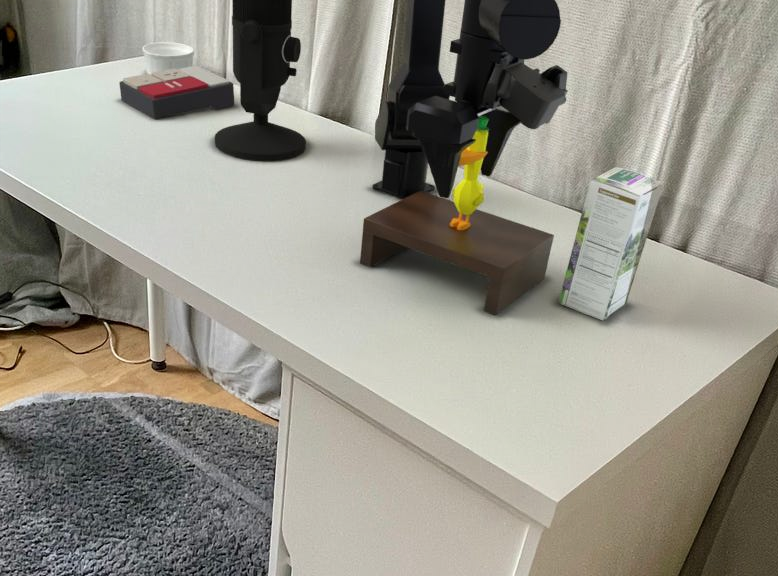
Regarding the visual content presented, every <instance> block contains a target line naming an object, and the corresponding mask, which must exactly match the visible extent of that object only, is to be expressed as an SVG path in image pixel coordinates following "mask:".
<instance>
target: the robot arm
mask: <svg viewBox="0 0 778 576" xmlns="http://www.w3.org/2000/svg"><path fill="white" fill-rule="evenodd" d="M445 9H446V0H407V4H406V15H405V28H404V29H405V30H404V42H403V54H402V64H401V66H400V68H399V69H398V71H397V72H396V73H395V75H394V76H393V78H392V80H391V81H390V82H389V84H388V86H387V93H386V94H387V95H386V101H384V102H383V104H382V106H381V107H380V111H379V113H378V115H377V117H376V120H375V122H374V140H375V142H376V143H377V145H378V146H379V148H380V150H381V151H384V160H383V167H382V177H381V180H380V181H377V182H375V183H373V184H372V186H371V187H372V189H373V190H375V191H378V192H380V193H383V194H387V195H390V196H393V197H396V198H398V199H400V200H402V199H405V198H407V197H409V196H411V195H413V194H415V193H417V192H419V191H423V192H426V193H429V194H430V192H433V191H435V188H436V191H437V193H438V197H441V198H444V199H449V198H451V195H452V194H451V193H452V192H453V187H454V184H455V180H456V177H457V174H458V173H457V172H458V169H459V166H458V165H459V161H460V158H461V154H462V152H463V151H464V150H465V149H466V148H468V147H469V146H470V145H472V144H473V143H474V142H475V141H476V139H472V138H473V136H474V134H475V133H476V131H477V129H478V123H479V116H483V117H487V118H489V121H488V123H487V126H486V127H487V128H489V130H488V138H487V144H486V150H485V151H487V152H488V153H487V154H486V155H485V157H484V159H483V162H482V166H481V169H480V173H481V175H482V176H485V177H491V176H492V175H493V173H494V170H495V168H496V166H497V163H498V162H499V160H500V157H501V156H502V153H503V151H504V149H505V147H506V145H507V143H508V140H509V139H510V136H511V135H512V133H513V131H514V129H515V128H516V127H517V126H519V125H522V126H524V127H526V128H528V129H530V130H537V129H539V128H540V126H543V125H547V124H549V123H551V121H552V119H553V117H554V116H555V114H556V112H557V110H558V108H559V107H560V106H562V105H564V104H565V103H566V102H567V97H566V95H567V94H568V91H569V90H568V89H567V82H568V71H566V70H565V69H564V68H562V67H561V66H559V65H558V64H556V65H553V66H550V67H548V68H547V69H546V70H544V71H542V72H541V73H540V71H541V70H540V69H539V68H538V67H536V68H534V69H533V68H532V67H529V66H528V65H526V64H525V60H531V59H535V58H537V57H539V56H541V55H542V54H544V53H546V51H548V50H549V49H550V48H551V46H552V45H553V44H554V43H555V40H556V39H557V38H558V34H559V32H560V29H561V23H562V19H561V14H560V12H561V11H560V8H559V5H558V2H557V1H556V0H464V3H463V10H462V18H461V25H460V31H459V38H457V39H453V40H451V41H450V44H449V45H450V47H449V53H452V54H456V62H455V68H454V76H453V81H450V82H448V83H445V81H444V79H443V76H442V75H441V72H440V60H441V59H440V58H441V48H442V40H443V29H444V20H445V19H444V18H445ZM450 97H452V98H454V100H452V99H450ZM428 167H429V169H430V172H431V175H432V178H433V181H434V184H431V183H429V182H427V174H428Z"/></svg>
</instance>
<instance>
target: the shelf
mask: <svg viewBox="0 0 778 576" xmlns="http://www.w3.org/2000/svg"><path fill="white" fill-rule="evenodd" d="M459 213H460V212H459V211H458V210H457V208H456V205H455V203H454V200H450V199H448V198H443V197H440V196H439V195H436V194H432V193H430V192H429V193H426V192H423V191H419V192H417V193H415V194H413V195H411V196H409V197H407V198H405V199H400V200H398V201H396V202H394V203H393V204H391V205H388V206H386V207H384V208H382V209H380V210H378V211H376V212H374V213H372V214H370V215H368V216H366V217H364V218H363V224H362V235H361V248H360V258H359V264H361V265H363V266H367V267H369V268H371V267H374V266H375V265H377V264H378V263H381V262H383V261H384V260H386V259H388V258H389V257H392V256H393V255H395V254H396V253H398V252H400V251H402V250H403V249H405V248H408V249H411V250H414V251H416V252H419V253H422V254H424V255H427V256H430V257H433V258H436V259H439V260H441V261H444V262H446V263H449V264H452V265H455V266H458V267H459V268H463V269H466V270H468V271H471V272H474V273H477V274H479V275H482V276H484V277H487V278H489V279H488V284H487V291H486V296H485V301H484V306H483V311H484V312H485V313H488V314H491V315H493V316H497V315H498V314H499V313H501V312H502V311H503V310H505V309H506V308H507V307H508V306H510V305H511V304H513V303H514V302H515V301H516V300H518V299H519V298H521V297H522V296H524V294H526V293H527V292H529V291H530V290H531V289H533V288H535V286H537V285H539V283H541V282H542V281H543V280H545V277H546V272H547V268H548V264H549V260H550V254H551V251H552V246H553V242H554V238H555V234H552V233H549V232H546V231H544V230H541V229H538V228H534V227H532V226H529V225H526V224H522V223H519V222H516V221H514V220H510V219H508V218H504V217H501V216H498V215H495V214H493V213H489V212H486V211H484V210H480V209H478V208H476V209H475V210H474V212H473V213H472V214H470V216H469V223H470V224H471V225H470V227H468V228H467V229H465V230H458V229H457V227H451V226H450V223H451V221H452V219H453V218H459ZM462 219H463V220H464V221H465V220H466V215H465V214H463V215H462Z"/></svg>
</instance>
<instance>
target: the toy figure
mask: <svg viewBox="0 0 778 576" xmlns="http://www.w3.org/2000/svg"><path fill="white" fill-rule="evenodd" d="M488 121H489V118H487V117H483V116H479V123H478V129H477V131H476V133H475V134H474V136H473V138H472V139H476V141H475V142H474V143H473V144H472V145H470V146H469V147H468V148H466V149H465V150H464V151H463V152H462V154H461V158H460V161H459V165H458V167H462V166H464V169H463V171H464V172H463V179H462V180H461V181H460V182H459V183H458V184H456V186H455V187H454V190H452V194H451V197H453V202H454V203H455V205H456V208H457V210H458V211H459V212H460V213H459V218H453V219H452V221H451V223H450V226H451V227H457V229H458V230H465V229H467V228H468V227H470V225H471V224H470V223H469V216H470V214H472V213H473V212H474V210H475V209H478V207H479V206H480V205H482V204H483V203H484V201H485V200H484V199H485V194H484V193H483V192H484V186H485V185H484V184H485V182H482V183H480V182H479V180H478V179H479V176H480V173H481V166H482V162H483V159H484V157H485V155H486V154H487V153H488V152H487V151H485V150H486V144H487V138H488V130H489V128H487V127H486V126H487V123H488ZM463 214H465V215H466V220H465V221H464V220H463V219H462V215H463Z"/></svg>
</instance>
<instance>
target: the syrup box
mask: <svg viewBox="0 0 778 576" xmlns="http://www.w3.org/2000/svg"><path fill="white" fill-rule="evenodd" d="M587 187H588V188H587V192H586V195H585V198H584V199H585V200H584V204H583V206H582V209H581V210H582V211H581V214H580V218H579V219H580V220H579V222H578V226H577V230H576V234H575V237H574V241H573V245H572V249H571V252H570V257H569V260H568V264H567V268H566V272H565V276H564V280H563V282H562V286H561V287H562V288H561V291H560V294H559V298H558V304H560V305H562V306H565V307H567V308H570V309H572V310H574V311H577V312H579V313H582V314H584V315H587V316H590V317H593V318H595V319H598V320H601V321H605V320H607V319H608V318H610V317H611V316H612V315H613V314H615V313H616V312H617V311H619V310H620V309H621V308H623V307H624V306H625V305H627V302H628V300H629V296H630V293H631V289H632V286H633V282H634V280H635V276H636V273H637V270H638V267H639V265H640V261H641V258H642V254H643V251H644V248H645V244H646V242H647V238H648V235H649V233H650V229H651V225H652V222H653V219H654V216H655V212H656V210H657V206H658V203H659V200H660V197H661V193H662V190H663V187H664V183H663V182H662V181H659V180H658V179H655V178H654V177H651V176H649V175H646V174H644V173H641V172H638V171H635V170H631V169H627V168H623V167H617V166H615V167H613V168H611V169H609V170H607V171H605V172H604V173H601V174H600V175H598V176H595V177H593V178H592V179H590V181H589V184H588V186H587Z"/></svg>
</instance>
